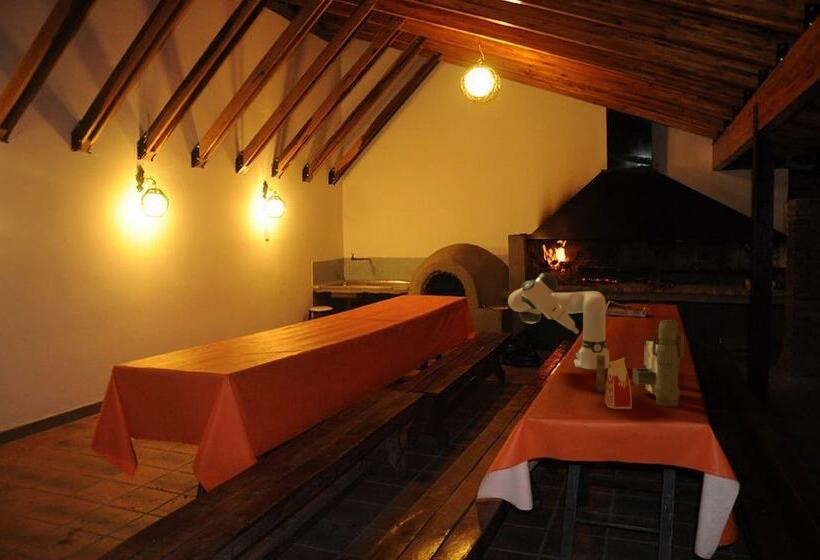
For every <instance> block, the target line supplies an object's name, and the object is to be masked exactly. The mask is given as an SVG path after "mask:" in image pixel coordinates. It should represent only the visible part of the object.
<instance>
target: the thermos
mask: <svg viewBox="0 0 820 560" xmlns="http://www.w3.org/2000/svg"><path fill="white" fill-rule="evenodd" d="M679 329H680V328H679V324H678V321H677V320H675V319H669V318H668V319H666V318H665V319H662V320H660V323H659V324H658V330H655V331H654V332H653V333H652V337H653V355H656V357H657V359H656V361H657V363H658V372H657V388H656V396H655V399H656V400H655V404H656V405H657V406H660V407H667V408H675V407H679V400H680V390H679V364H680V362H681V361H680V360H681V359H682V358H683V357H684V350H685V349H684V346H685V335H684V334H683V332H680V331H679ZM657 334H658V340H659V342H658V347H657V352H656V340H657ZM679 338H680V346H679ZM655 352H656V353H655Z"/></svg>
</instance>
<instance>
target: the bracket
mask: <svg viewBox="0 0 820 560" xmlns="http://www.w3.org/2000/svg"><path fill="white" fill-rule="evenodd" d="M657 347H658V345H657V344H656V352H657ZM656 352H655V353H656ZM656 359H657V357H656V355H653V342H651V341H646V368H644V367H643V368H641V367H640V368H632V382H634V383H635V384H637V385H638V386H645V390H646V389H647V390H646V391H647V392H649V391H650V393H651V394H652V395H653V396H655V397H656V388H657V372H658V363H657V361H656Z"/></svg>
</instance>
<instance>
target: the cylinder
mask: <svg viewBox="0 0 820 560" xmlns="http://www.w3.org/2000/svg"><path fill="white" fill-rule="evenodd" d="M595 370H596V373H595V375H596V376H595V377H596V379H595V380H596V384H595V385H596V387H595V389H596V390H595V391H596V392H598V393H604V392H605V393H606V380H605V379H606V377H605V376H606V369H605V356H604V355H597V360H596V369H595Z"/></svg>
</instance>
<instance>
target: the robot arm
mask: <svg viewBox="0 0 820 560" xmlns="http://www.w3.org/2000/svg"><path fill="white" fill-rule="evenodd" d="M558 285H559V283H558V280H557V278H556V277H555V276H554V275H553V274H551V273H549V272H541V273H540V274H539V275H538V277H537V278H536V279H531V280H526V281H524V282H522V283H520V288H518V289H516V290H514V291H513V292H512V293H510V294H509V296H508V299H507V304H508V307H509V308H510V309H511V310H512V311H514V312H518V314H517V315H518V316H519V317H520V320H521V321H523V322H524V323H526V324H531V325H533V324H535V323H539V322H540V321H541V320H542V319H541V318H542V315H544V317H546V318H547V319H548V320H554V321H556V322H557V323H559V324H561V326H563V327H565V328H566V329H568V330H570V331H572V332H573V333H574V334H575V335H578V334H579V333H580V331H579V329H578V328H577V327H576V323H575V321H574V320H573V319H572V318H571V316H570V314H578V313H579V314H581V313H582V316H583V317H582V323H583V324H582V325H583V326H582V330H583V331H582V340H581V347H580V349H579V351H578V352H575V358H577V359H574V360H573V363H574V366H575V367H576V368H579V369H587V370H596V360H597V355H604V356H605V370H606V369H608V367H609V364H608V363H607V362H610V354H609V353H610V351H609V350H608V348H607V340H606V319H607V318H606V311H607V310H606V308H607V307H606V306H607V305H606V304H607V303H606V299H605V296H604V295H603V294H602V293H601V292H600V291H596V290H593V291H592V290H590V291H588V290H587V291H575V292H574V291H573V292H555V291H556V290H557V289H558ZM541 313H542V314H541Z"/></svg>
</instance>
